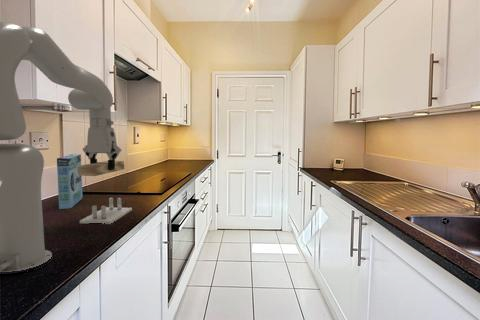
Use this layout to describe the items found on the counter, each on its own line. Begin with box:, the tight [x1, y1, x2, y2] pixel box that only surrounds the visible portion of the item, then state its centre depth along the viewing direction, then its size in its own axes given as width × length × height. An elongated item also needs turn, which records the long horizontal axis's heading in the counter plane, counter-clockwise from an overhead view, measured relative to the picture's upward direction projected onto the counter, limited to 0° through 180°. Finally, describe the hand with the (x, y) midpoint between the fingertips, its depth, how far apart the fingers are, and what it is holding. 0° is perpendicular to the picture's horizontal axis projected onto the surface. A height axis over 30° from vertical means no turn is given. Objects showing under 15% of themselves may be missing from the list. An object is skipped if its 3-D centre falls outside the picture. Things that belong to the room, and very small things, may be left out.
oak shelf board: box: [77, 160, 125, 177], centre depth 112 cm, size 18×7×4 cm, turn 169°
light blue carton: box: [56, 153, 84, 210], centre depth 134 cm, size 20×5×23 cm, turn 14°
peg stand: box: [79, 197, 133, 225], centre depth 116 cm, size 19×12×6 cm, turn 178°
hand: (102, 168), depth 112 cm, fingers closed on oak shelf board, 7 cm apart
